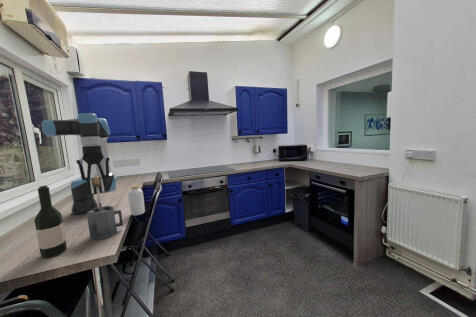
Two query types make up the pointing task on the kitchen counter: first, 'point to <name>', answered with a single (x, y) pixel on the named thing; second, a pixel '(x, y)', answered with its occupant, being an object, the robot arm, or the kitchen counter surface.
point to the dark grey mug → (103, 223)
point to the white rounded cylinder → (136, 201)
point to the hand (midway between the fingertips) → (98, 192)
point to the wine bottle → (49, 227)
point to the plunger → (98, 192)
